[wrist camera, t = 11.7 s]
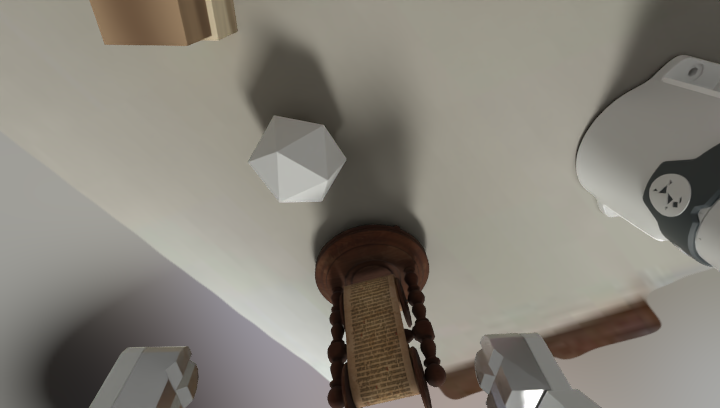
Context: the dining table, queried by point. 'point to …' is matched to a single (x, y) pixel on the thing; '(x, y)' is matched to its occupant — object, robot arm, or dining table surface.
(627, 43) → the dining table surface
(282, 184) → the die
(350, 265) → the scroll
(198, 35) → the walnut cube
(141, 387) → the robot arm
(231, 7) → the oak cube
